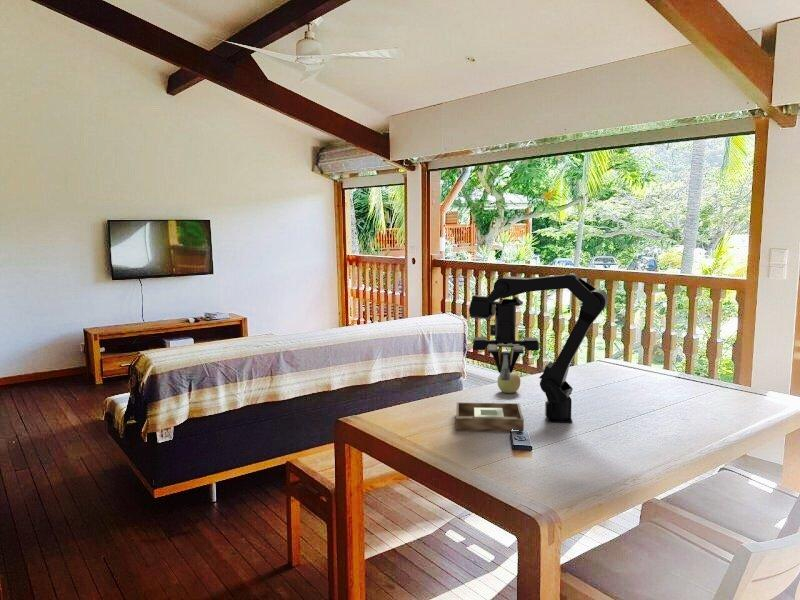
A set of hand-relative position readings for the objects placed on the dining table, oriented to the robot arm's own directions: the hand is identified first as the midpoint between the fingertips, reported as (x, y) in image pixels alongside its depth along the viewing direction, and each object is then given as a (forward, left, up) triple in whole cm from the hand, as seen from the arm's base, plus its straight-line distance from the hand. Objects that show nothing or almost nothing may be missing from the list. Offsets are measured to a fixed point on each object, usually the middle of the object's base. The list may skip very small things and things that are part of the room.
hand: (505, 372), depth 175 cm
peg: (0, 0, -2) cm, 2 cm away
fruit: (-3, -20, -12) cm, 24 cm away
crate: (+5, +10, -12) cm, 16 cm away
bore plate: (+5, +10, -12) cm, 16 cm away
